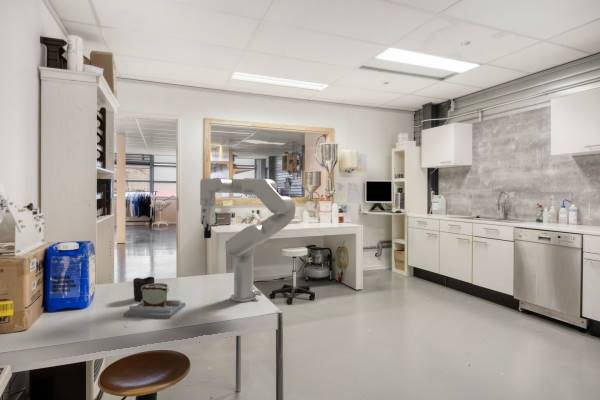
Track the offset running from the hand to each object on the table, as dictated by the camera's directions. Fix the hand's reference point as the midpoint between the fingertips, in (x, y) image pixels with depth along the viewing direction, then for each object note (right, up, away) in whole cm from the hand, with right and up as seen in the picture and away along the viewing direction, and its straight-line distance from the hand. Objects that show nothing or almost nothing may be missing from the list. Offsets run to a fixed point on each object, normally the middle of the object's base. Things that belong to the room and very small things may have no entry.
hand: (207, 237), depth 176 cm
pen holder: (-29, -29, -9) cm, 42 cm away
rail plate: (-16, -29, -25) cm, 42 cm away
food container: (-16, -28, -25) cm, 40 cm away
